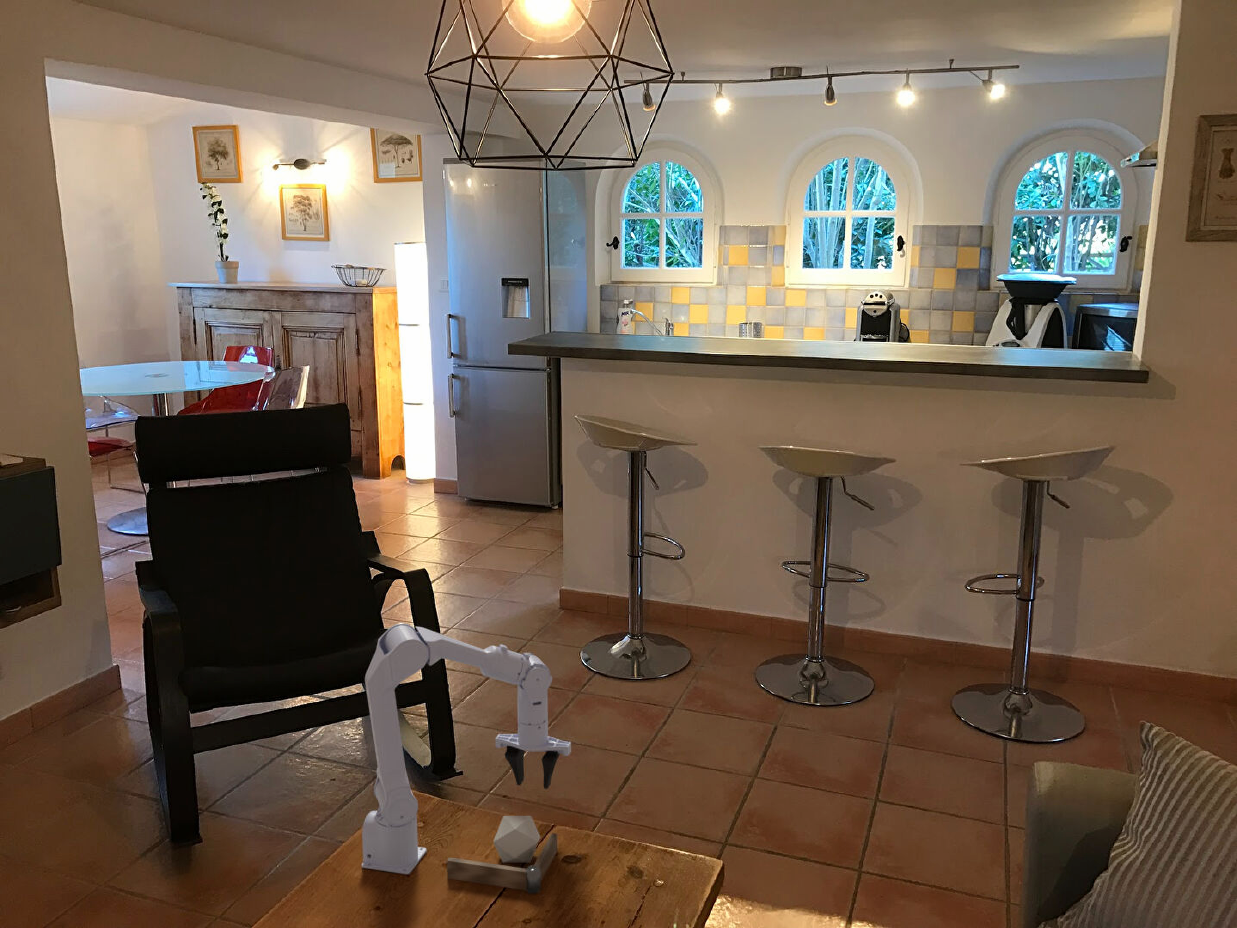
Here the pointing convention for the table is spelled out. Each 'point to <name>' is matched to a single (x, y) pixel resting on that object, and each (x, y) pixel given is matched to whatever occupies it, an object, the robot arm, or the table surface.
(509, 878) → the wooden l-shaped bracket
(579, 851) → the table surface
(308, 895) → the table surface
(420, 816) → the table surface
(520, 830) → the die
